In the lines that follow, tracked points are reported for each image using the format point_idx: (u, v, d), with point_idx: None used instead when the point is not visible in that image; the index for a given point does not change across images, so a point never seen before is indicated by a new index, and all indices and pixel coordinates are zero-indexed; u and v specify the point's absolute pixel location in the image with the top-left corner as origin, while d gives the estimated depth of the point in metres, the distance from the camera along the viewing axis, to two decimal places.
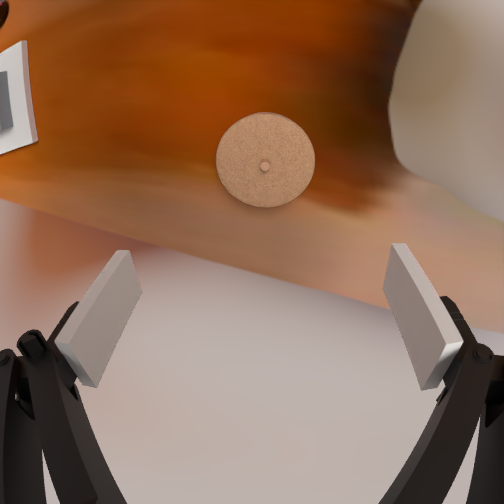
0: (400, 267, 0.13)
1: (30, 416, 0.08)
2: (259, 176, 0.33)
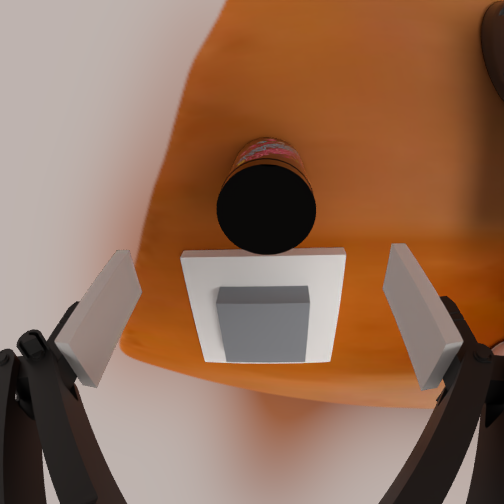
0: (400, 267, 0.13)
1: (30, 416, 0.08)
2: None
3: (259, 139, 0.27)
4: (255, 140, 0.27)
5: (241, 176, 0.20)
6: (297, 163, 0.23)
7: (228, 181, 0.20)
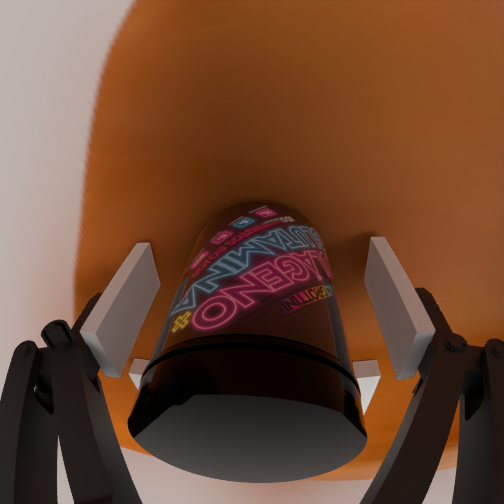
0: (378, 259, 0.13)
1: (48, 410, 0.09)
2: None
3: (240, 208, 0.13)
4: (232, 209, 0.14)
5: (170, 408, 0.06)
6: (327, 307, 0.09)
7: (140, 409, 0.06)
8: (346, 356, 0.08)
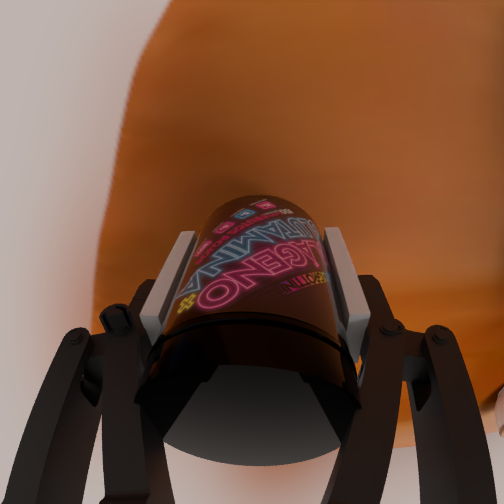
0: (328, 248, 0.14)
1: (92, 401, 0.09)
2: None
3: (241, 201, 0.14)
4: (233, 202, 0.14)
5: (177, 381, 0.07)
6: (324, 291, 0.10)
7: (147, 384, 0.07)
8: (342, 336, 0.09)
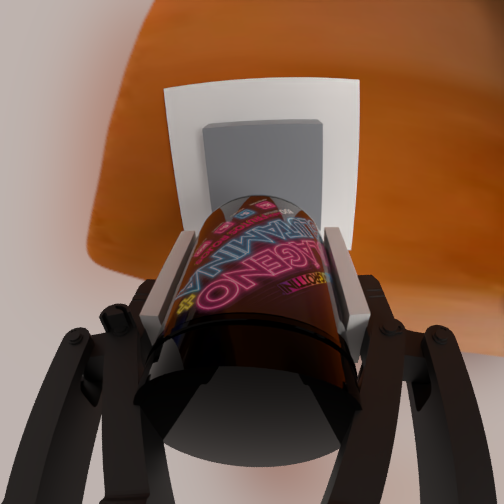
0: (328, 248, 0.14)
1: (92, 401, 0.09)
2: None
3: (241, 201, 0.14)
4: (233, 202, 0.14)
5: (176, 382, 0.07)
6: (324, 291, 0.10)
7: (146, 386, 0.07)
8: (342, 337, 0.09)
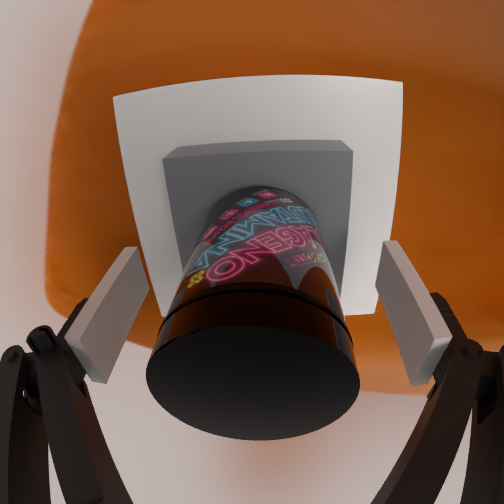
0: (391, 264, 0.13)
1: (37, 413, 0.09)
2: None
3: (244, 191, 0.15)
4: (237, 192, 0.15)
5: (188, 345, 0.08)
6: (321, 269, 0.11)
7: (160, 350, 0.08)
8: (338, 309, 0.10)
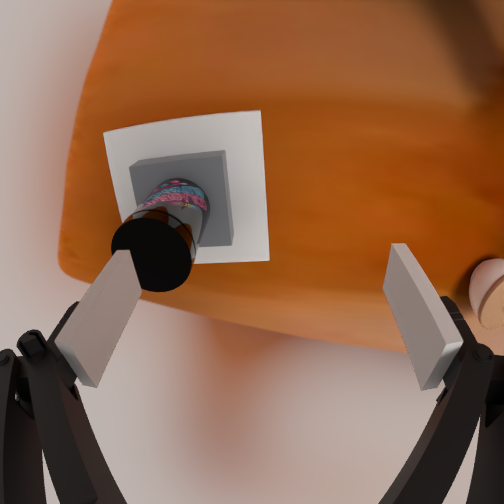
0: (400, 267, 0.13)
1: (30, 416, 0.08)
2: (500, 312, 0.35)
3: (166, 181, 0.29)
4: (163, 182, 0.30)
5: (125, 228, 0.22)
6: (184, 208, 0.25)
7: (116, 232, 0.22)
8: (186, 221, 0.24)
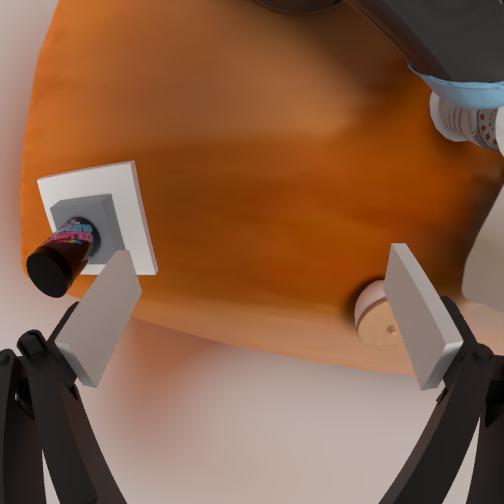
0: (400, 267, 0.13)
1: (30, 416, 0.08)
2: (385, 334, 0.43)
3: (69, 219, 0.38)
4: (68, 220, 0.38)
5: (30, 258, 0.31)
6: (67, 244, 0.34)
7: (27, 260, 0.31)
8: (65, 254, 0.33)
